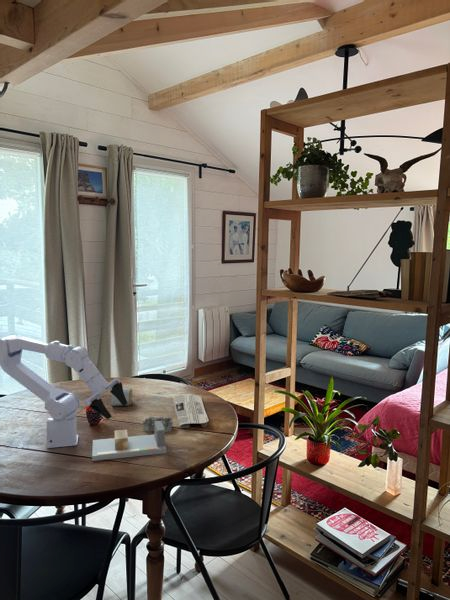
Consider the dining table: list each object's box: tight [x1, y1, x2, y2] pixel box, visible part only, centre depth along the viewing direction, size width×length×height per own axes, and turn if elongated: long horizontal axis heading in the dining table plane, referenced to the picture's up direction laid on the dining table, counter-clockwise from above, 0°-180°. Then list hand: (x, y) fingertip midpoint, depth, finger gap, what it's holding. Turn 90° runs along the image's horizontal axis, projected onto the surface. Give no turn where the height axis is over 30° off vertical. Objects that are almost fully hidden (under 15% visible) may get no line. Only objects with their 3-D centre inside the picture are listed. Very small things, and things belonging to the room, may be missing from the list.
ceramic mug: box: [110, 387, 133, 407], centre depth 187 cm, size 11×8×8 cm
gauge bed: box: [91, 421, 167, 462], centre depth 144 cm, size 23×12×7 cm, turn 106°
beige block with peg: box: [114, 429, 129, 451], centre depth 143 cm, size 4×9×4 cm, turn 16°
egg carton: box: [142, 416, 174, 433], centre depth 162 cm, size 11×8×4 cm
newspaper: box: [172, 393, 209, 429], centre depth 179 cm, size 35×12×4 cm, turn 11°
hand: (117, 411), depth 144 cm, fingers open, 7 cm apart
